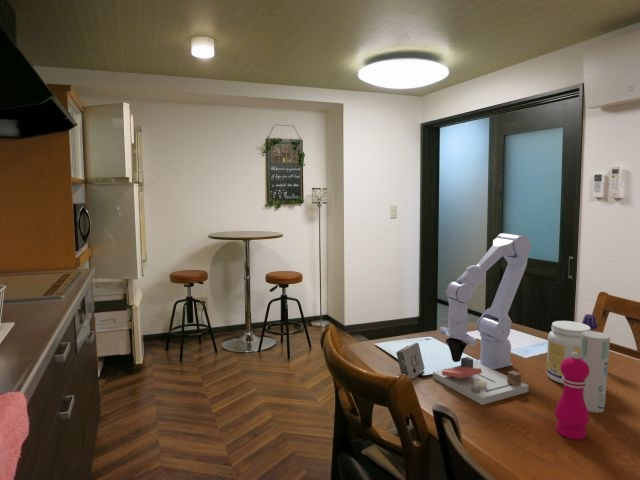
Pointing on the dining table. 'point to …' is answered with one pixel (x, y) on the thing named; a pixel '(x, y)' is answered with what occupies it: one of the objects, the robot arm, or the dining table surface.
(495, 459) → the dining table surface
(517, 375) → the walnut slider
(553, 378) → the supplement tub
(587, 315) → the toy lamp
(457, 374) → the red rocker
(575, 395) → the pepper mill
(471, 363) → the black slider
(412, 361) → the electrical switch
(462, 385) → the console
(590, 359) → the spray can
